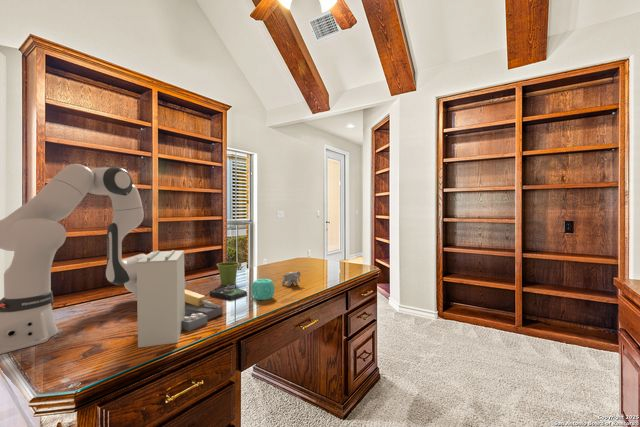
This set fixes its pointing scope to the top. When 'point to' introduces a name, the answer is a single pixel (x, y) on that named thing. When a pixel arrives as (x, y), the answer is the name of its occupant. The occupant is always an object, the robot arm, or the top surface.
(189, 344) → the top surface
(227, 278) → the plant pot
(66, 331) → the top surface
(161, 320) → the slotted cream upright block
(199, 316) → the switch box
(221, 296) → the disk drive
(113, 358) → the top surface
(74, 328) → the top surface
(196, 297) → the long orange square stick
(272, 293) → the decorative dice
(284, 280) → the gray elephant figurine
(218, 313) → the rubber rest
